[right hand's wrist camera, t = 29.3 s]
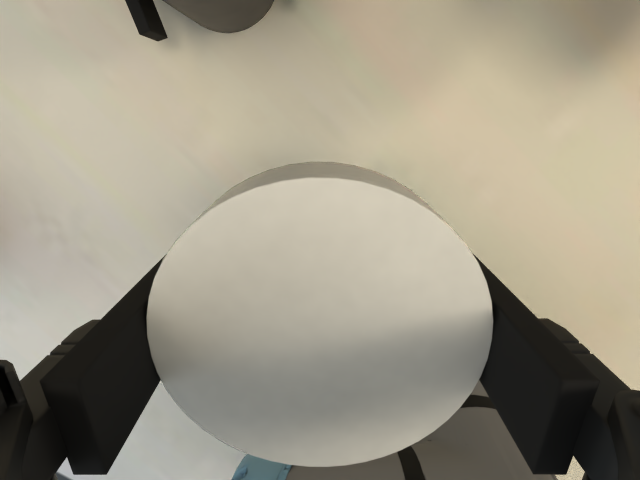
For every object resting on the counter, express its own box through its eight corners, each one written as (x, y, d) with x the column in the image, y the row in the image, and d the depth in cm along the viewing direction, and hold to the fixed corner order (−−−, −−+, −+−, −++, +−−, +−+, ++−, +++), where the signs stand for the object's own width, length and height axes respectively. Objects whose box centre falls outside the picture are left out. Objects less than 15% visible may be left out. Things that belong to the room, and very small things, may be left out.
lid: (166, 148, 10) (125, 161, 8) (494, 174, 11) (539, 193, 8) (185, 403, 14) (161, 459, 12) (431, 417, 14) (452, 475, 12)
